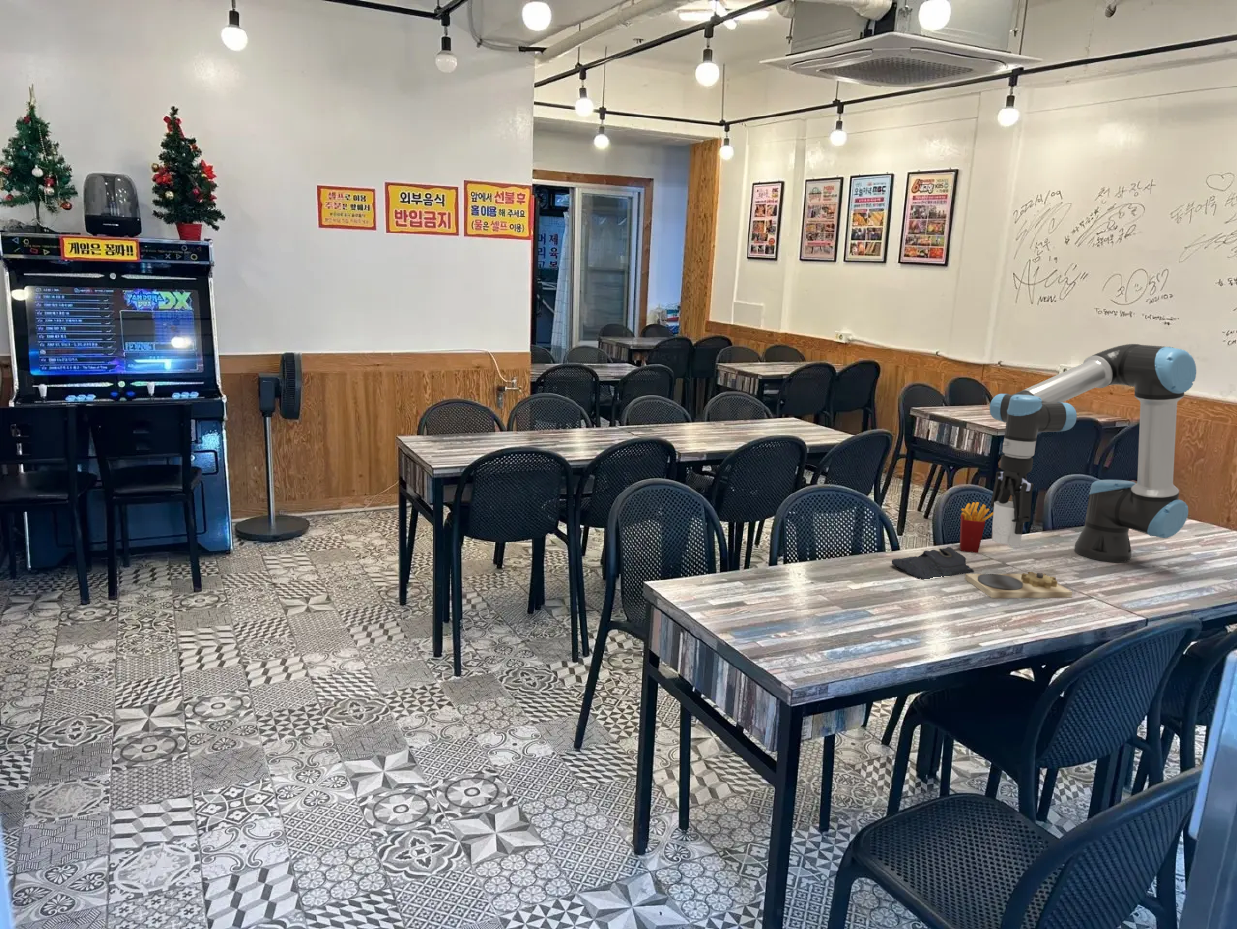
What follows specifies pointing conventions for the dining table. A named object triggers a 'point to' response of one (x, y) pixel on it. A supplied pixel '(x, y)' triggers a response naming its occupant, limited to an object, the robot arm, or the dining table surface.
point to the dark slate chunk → (934, 564)
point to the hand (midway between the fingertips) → (1005, 540)
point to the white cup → (1002, 522)
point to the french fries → (972, 527)
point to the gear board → (1018, 585)
